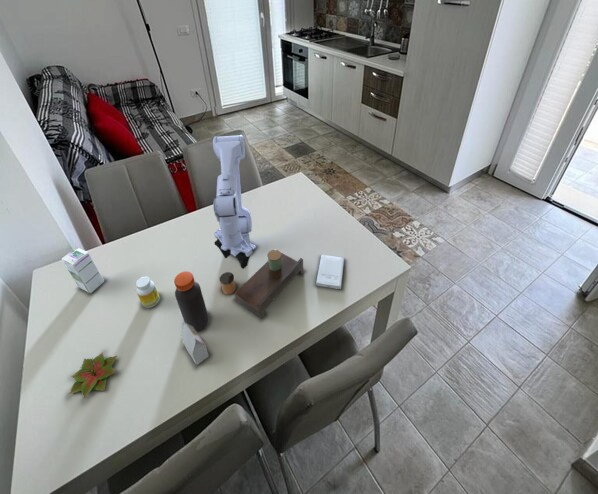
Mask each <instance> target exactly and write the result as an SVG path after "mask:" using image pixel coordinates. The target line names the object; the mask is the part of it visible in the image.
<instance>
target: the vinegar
mask: <svg viewBox="0 0 598 494" xmlns="http://www.w3.org/2000/svg"><path fill="white" fill-rule="evenodd" d="M173 280H174V281H173V282H174V285H175V291H174V296H175V297H174V298H175V299H176V303H177V305H178V308H179V311H180V312H181V316H182V319H183V323H185V322H186V323H187V324H188V325H191V326H193V327H194V328H195V330H196V331H197V332H199V331H200V332H201V331H202V330H204V329H205V328H206V327H207V325H208V324H209V319H210V318H209V317H210V316H209V314H208V309H207V305H206V303H205V299H204V295H203V292H202V288H201V286H200V284H199V282H197V281H196V280H195V277H194V275H193V273H192V272H191V271H187V270H186V271H182V272H180V273H178V274H176V276H175V277H174V279H173ZM186 323H185V324H186Z"/></svg>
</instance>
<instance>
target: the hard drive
mask: <svg viewBox="0 0 598 494" xmlns="http://www.w3.org/2000/svg"><path fill="white" fill-rule="evenodd" d="M344 265H345V257H340V256H334V255H327V254H321V256H320V261H319V266H318V270H317V271H318V272H317V277H316V283H315V286H318V287H322V288H329V289H335V290H341V289H342V281H343V273H344Z"/></svg>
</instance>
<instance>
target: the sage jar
mask: <svg viewBox="0 0 598 494" xmlns="http://www.w3.org/2000/svg"><path fill="white" fill-rule="evenodd" d="M281 253H282V252H281V251H280V250H278V249H271V250H269V251H268V252H267V261H268V264H269V269H270V270H272V271H278V270H279V269H280V268H281V266H282V264H281Z"/></svg>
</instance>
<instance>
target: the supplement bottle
mask: <svg viewBox="0 0 598 494" xmlns="http://www.w3.org/2000/svg"><path fill="white" fill-rule="evenodd" d="M135 286H136V288H135V292H136V295H137V297H138V299H139V301H140V303H141V305H142V307H144V308H147V309H148V308H153V307H155V306H156V305H157V304H158V303H159V301H160V294H159V291H158V289H157V287H156V284H155V282H154V281H153V280H151V279H150V277H149V276H142V277H139V278H138V279H137V280H136V282H135Z"/></svg>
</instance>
